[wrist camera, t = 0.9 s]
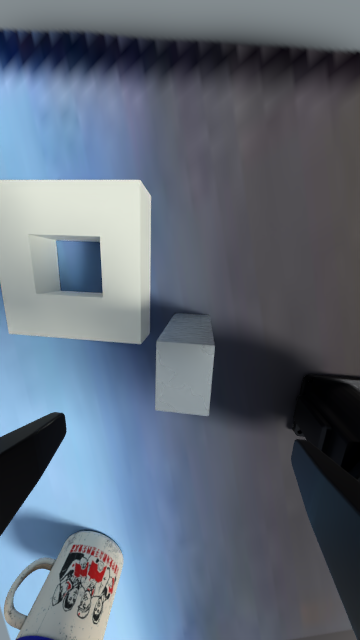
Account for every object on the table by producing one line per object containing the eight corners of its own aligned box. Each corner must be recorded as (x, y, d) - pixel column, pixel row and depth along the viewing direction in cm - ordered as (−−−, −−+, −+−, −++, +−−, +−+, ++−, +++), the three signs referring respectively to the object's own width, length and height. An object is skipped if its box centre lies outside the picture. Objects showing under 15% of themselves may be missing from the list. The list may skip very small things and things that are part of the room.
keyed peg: (209, 315, 18) (214, 345, 11) (205, 360, 19) (208, 419, 12) (175, 312, 19) (156, 341, 11) (173, 358, 20) (155, 413, 12)
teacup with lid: (136, 547, 27) (88, 748, 15) (112, 583, 29) (55, 780, 18) (56, 507, 27) (-52, 681, 15) (38, 546, 29) (-67, 722, 18)
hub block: (150, 196, 17) (140, 180, 14) (149, 333, 19) (140, 344, 16) (19, 195, 18) (-17, 179, 15) (36, 325, 20) (8, 333, 18)
